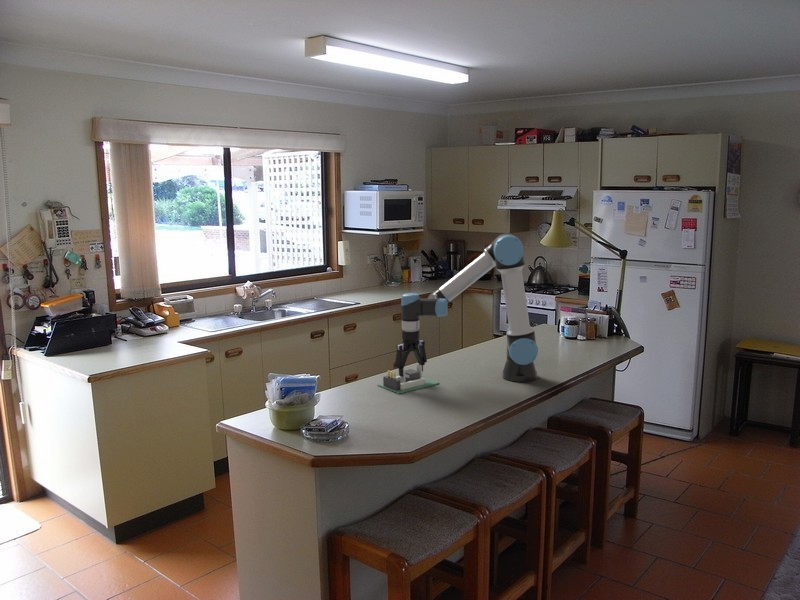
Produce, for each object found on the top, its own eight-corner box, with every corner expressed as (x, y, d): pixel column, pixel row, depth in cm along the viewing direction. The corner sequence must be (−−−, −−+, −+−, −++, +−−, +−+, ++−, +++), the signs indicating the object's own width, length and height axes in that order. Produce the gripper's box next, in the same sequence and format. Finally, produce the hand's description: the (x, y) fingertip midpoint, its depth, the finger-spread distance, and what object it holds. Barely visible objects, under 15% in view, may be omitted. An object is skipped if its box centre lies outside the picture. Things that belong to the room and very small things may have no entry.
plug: (419, 383, 288) (419, 371, 287) (410, 385, 285) (410, 374, 284) (411, 380, 292) (410, 369, 292) (401, 382, 289) (401, 371, 288)
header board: (439, 383, 288) (439, 366, 287) (398, 394, 275) (398, 376, 274) (417, 376, 300) (417, 360, 299) (377, 385, 287) (377, 368, 285)
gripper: (424, 325, 294) (424, 374, 297) (385, 331, 281) (386, 384, 285) (435, 327, 288) (435, 378, 291) (396, 334, 275) (396, 388, 279)
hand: (411, 381), depth 288 cm, fingers open, 8 cm apart
